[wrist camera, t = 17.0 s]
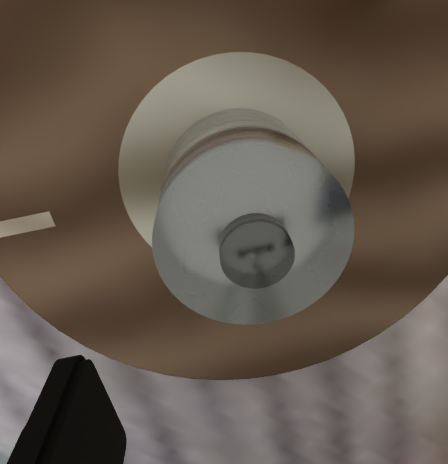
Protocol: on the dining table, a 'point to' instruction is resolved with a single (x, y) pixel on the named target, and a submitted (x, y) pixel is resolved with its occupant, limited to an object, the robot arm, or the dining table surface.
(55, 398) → the robot arm
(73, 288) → the turntable
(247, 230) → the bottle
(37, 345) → the dining table surface
